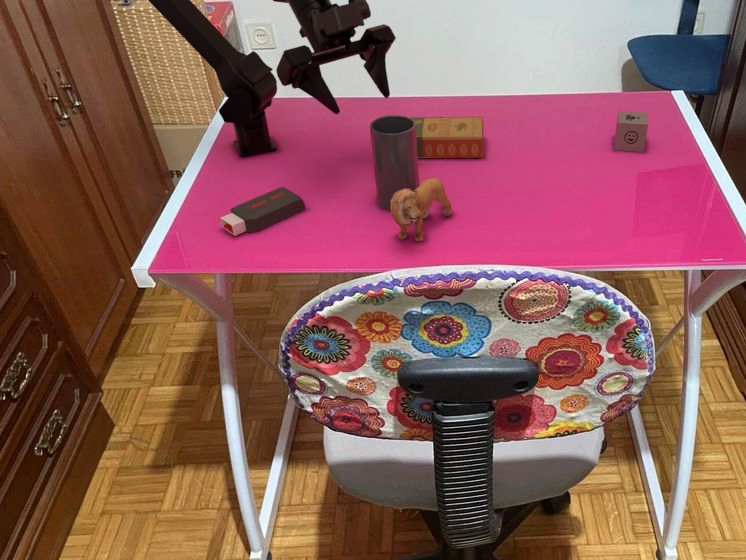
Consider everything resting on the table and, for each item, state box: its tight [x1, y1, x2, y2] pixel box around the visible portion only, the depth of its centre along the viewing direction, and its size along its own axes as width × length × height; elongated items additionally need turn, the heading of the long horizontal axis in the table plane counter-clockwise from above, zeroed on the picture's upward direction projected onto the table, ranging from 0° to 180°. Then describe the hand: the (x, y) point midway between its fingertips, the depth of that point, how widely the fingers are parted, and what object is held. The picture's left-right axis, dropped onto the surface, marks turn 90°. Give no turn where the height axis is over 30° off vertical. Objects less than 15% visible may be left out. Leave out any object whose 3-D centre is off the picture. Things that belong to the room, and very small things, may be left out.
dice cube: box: [614, 110, 649, 153], centre depth 127 cm, size 5×5×5 cm
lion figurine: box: [390, 177, 452, 242], centre depth 105 cm, size 15×5×9 cm, turn 159°
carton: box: [409, 116, 484, 159], centre depth 126 cm, size 8×16×4 cm, turn 89°
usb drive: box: [219, 186, 306, 237], centre depth 109 cm, size 5×12×3 cm, turn 136°
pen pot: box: [369, 114, 420, 211], centre depth 110 cm, size 7×7×12 cm
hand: (363, 104), depth 110 cm, fingers open, 9 cm apart
